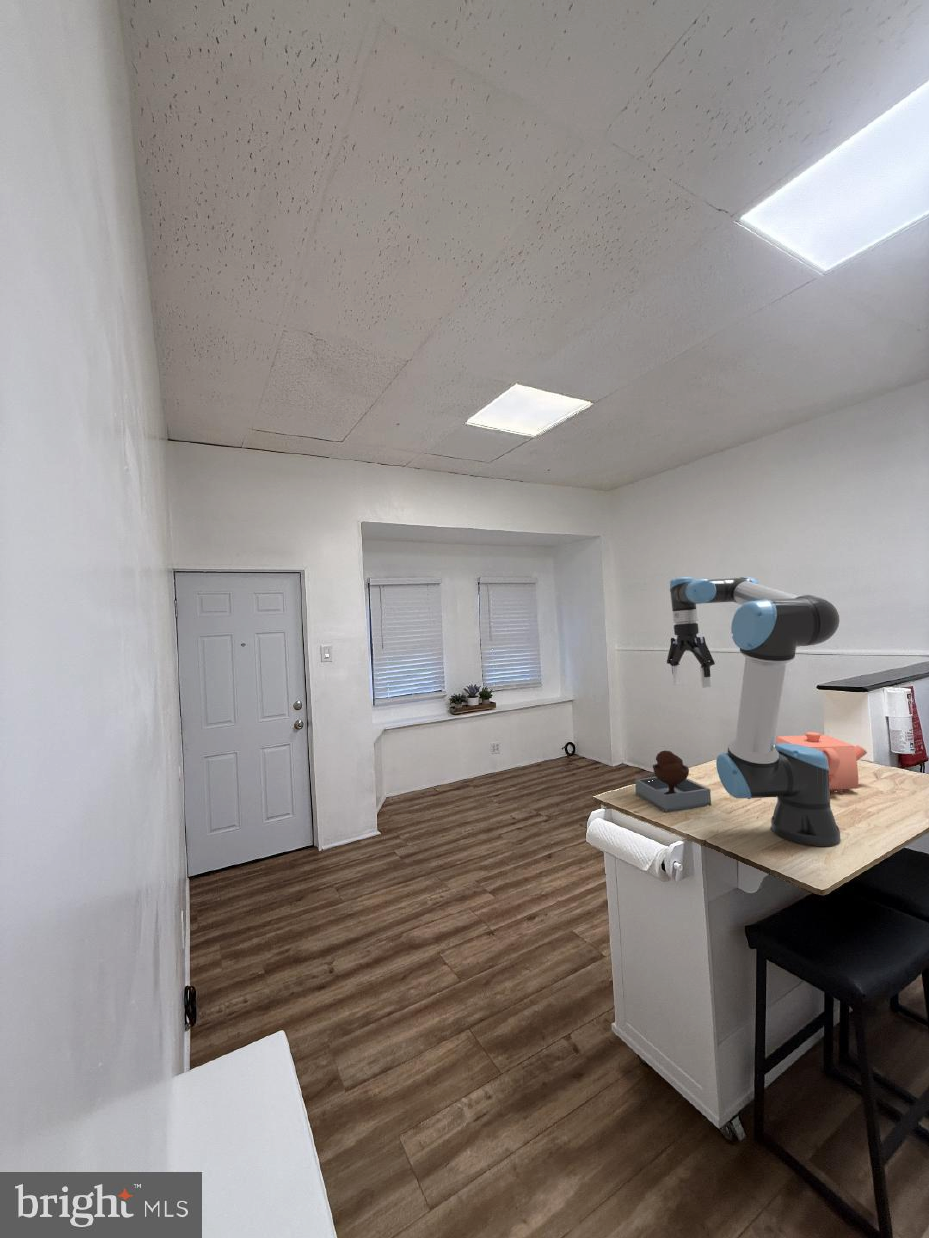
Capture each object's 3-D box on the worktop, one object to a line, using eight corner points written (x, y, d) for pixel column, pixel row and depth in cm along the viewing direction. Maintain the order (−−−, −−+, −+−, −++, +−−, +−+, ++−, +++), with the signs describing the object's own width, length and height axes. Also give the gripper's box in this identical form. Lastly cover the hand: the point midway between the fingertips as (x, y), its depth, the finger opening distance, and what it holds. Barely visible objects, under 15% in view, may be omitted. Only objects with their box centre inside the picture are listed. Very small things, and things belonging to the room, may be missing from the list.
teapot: (843, 773, 171) (841, 723, 171) (894, 798, 148) (891, 740, 148) (769, 775, 173) (766, 725, 173) (807, 799, 151) (804, 742, 151)
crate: (711, 805, 151) (710, 789, 151) (666, 812, 147) (665, 796, 147) (677, 788, 166) (676, 773, 166) (635, 794, 163) (635, 779, 163)
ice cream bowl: (687, 805, 149) (684, 757, 149) (649, 799, 156) (647, 752, 155) (694, 794, 158) (691, 748, 157) (658, 788, 164) (656, 744, 164)
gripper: (653, 625, 176) (658, 684, 175) (702, 621, 152) (709, 689, 151) (670, 624, 178) (676, 682, 177) (722, 620, 153) (729, 687, 153)
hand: (691, 685), depth 164 cm, fingers open, 13 cm apart
